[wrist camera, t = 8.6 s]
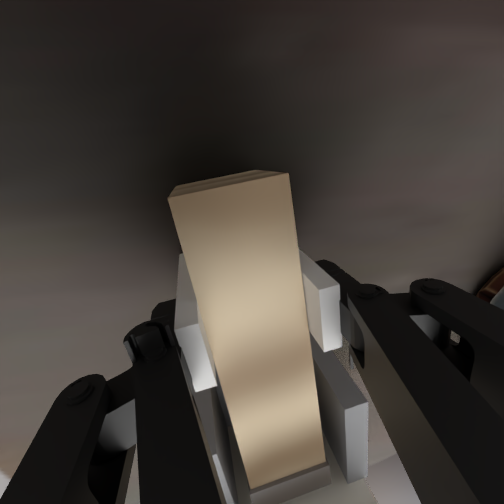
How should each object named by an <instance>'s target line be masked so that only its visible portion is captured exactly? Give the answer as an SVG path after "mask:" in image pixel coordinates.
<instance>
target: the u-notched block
mask: <svg viewBox="0 0 504 504" xmlns="http://www.w3.org/2000/svg"><path fill="white" fill-rule="evenodd" d="M309 335H310V343H311V350H312V358H313V366H314V374H315V381H316V389H317V397H318V405H319V412H320V420H321V428H322V436H323V443H324V451H325V456H326V459H327V461H328V463H329V465H330V473H331V481H332V484H330V485H327V486H325V487H322V488H320V489H317V490H314V491H312V492H309V493H307V494H304V495H301V496H299V497H296V498H294V499H291V500H288V501H286V502H283V503H281V504H378V502H377V501H376V499H375V497H374V495H373V493H372V491H371V489H370V487H369V486H368V484H367V482H366V480H365V477H367V476H368V401H367V399H366V398H365V397H364V395H363V394H362V392H361V391H360V389H359V388H358V387H357V385H356V384H355V382H354V381H353V380H352V378H351V377H350V375H349V374H348V373H347V371H346V370H345V368H344V367H343V365H342V364H341V363H340V361H339V360H338V358H337V357H336V356H335V354H334V353H333V351H332V350H330V351H327V352H323V350H322V349H321V347H320V346H319V344H318V343H317V341H316V340H315V338H314V337H313V335H312V334H311V332H310V331H309ZM214 366H215V362H214ZM215 374H216V382H217V386H215V387H211V388H208V389H205V390H202V391H199V392H195V389H194V386H193V383H192V386H193V396H194V399H195V402H196V405H197V408H198V411H199V414H200V418H201V421H202V424H203V428H204V431H205V434H206V437H207V441H208V444H209V447H210V450H211V454H212V457H213V460H214V464H215V467H216V470H217V473H218V477H219V480H220V483H221V486H222V490H223V493H224V496H225V500H226V503H227V504H252V501H251V498H250V494H249V488H248V482H247V477H246V471H245V467H244V464H243V460H242V457H241V453H240V450H239V446H238V443H237V439H236V436H235V432H234V429H233V425H232V422H231V418H230V415H229V411H228V408H227V404H226V401H225V397H224V394H223V390H222V387H221V383H220V380H219V376H218V373H217V369H216V366H215Z"/></svg>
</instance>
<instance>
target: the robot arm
mask: <svg viewBox="0 0 504 504" xmlns="http://www.w3.org/2000/svg"><path fill="white" fill-rule="evenodd" d="M298 250H299V257H300V265H301V273H302V281H303V288H304V296H305V304H306V312H307V319H308V327H309V331H310V332H311V334H312V335H313V337H314V338H315V340H316V341H317V343H318V344H319V346H320V347H321V349H322V350H323V352H327V351H330V350H333V349H336V348H340V347H342V335H343V336H344V337H345V338H346V340H347V341H348V342H349V361H350V369H354V366H353V363H355V365H356V367H357V369H358V371H359V374H360V376H361V378H362V380H363V382H364V384H365V386H366V388H367V390H368V392H369V395H370V397H371V399H372V401H373V403H374V405H375V407H376V409H377V411H378V413H379V416H380V418H381V420H382V422H383V424H384V426H385V428H386V430H387V432H388V435H389V437H390V439H391V441H392V443H393V445H394V447H395V449H396V451H397V453H398V455H399V458H400V460H401V462H402V464H403V466H404V468H405V470H406V472H407V474H408V476H409V479H410V481H411V483H412V485H413V487H414V489H415V491H416V493H417V495H418V497H419V500H420V502H421V504H504V310H503V309H501V308H499V307H497V306H495V305H493V304H490V303H488V302H486V301H484V300H482V299H480V298H478V297H476V296H474V295H472V294H470V293H468V292H466V291H464V290H462V289H460V288H458V287H456V286H454V285H452V284H450V283H447V282H444V281H442V280H436V279H432V278H429V279H428V278H425V279H419V280H416V281H414V282H412V283H411V285H410V292H409V293H397V294H389V293H388V292H387V291H386V290H385V289H383V288H382V287H380V286H377V285H373V284H360V283H359V282H358V281H356V280H355V279H354V278H353V277H351V276H350V275H349V274H347V273H345V271H343V270H342V269H340V267H338V266H337V265H336V264H334V263H333V262H330V261H327V260H320V261H316V262H314V261H313V260H312V259H310V258H309V257H308V256H307V255H306V254H305V253H304V252H303V251H301V250H300V249H299V248H298ZM451 330H452V331H453V332H455V333H457V334H458V335H460V336H461V337H460V342H459V343H456V342H454V341H453V340H451V339H450V336H451ZM123 343H124V345H125V348H126V350H127V352H128V354H129V356H130V359H131V361H132V363H133V366H132V367H131V368H130V369H129V370H127V371H125V372H124V373H122V374H120V375H118V376H116V377H114V378H112V379H110V380H108V381H106V380H105V378H104V377H103V375H99V374H92V375H87V376H85V377H82V378H79V379H78V380H76V381H74V382H73V383H71V384H70V385H69V386H67V387H66V388H65V389H64V390H63V391H62V392H61V393H60V394H59V396H58V397H57V398H56V400H55V401H54V403H53V405H52V407H51V409H50V410H49V412H48V414H47V416H46V418H45V419H44V421H43V423H42V425H41V427H40V428H39V430H38V432H37V434H36V436H35V437H34V439H33V441H32V443H31V445H30V446H29V448H28V450H27V452H26V454H25V455H24V457H23V459H22V461H21V463H20V464H19V466H18V468H17V470H16V472H15V473H14V475H13V477H12V479H11V481H10V482H9V485H8V486H7V488H6V490H5V492H4V493H3V495H2V497H1V499H0V504H124V503H125V498H126V493H127V488H128V483H129V478H130V473H131V468H132V463H133V458H134V453H135V448H136V443H137V452H138V471H139V489H140V504H227V503H226V500H225V496H224V493H223V490H222V486H221V483H220V480H219V477H218V473H217V470H216V467H215V464H214V460H213V457H212V454H211V450H210V447H209V444H208V441H207V437H206V434H205V431H204V428H203V424H202V421H201V418H200V414H199V411H198V408H197V405H196V402H195V399H194V396H193V386H194V389H195V392H199V391H202V390H205V389H208V388H211V387H215V386H217V382H216V374H215V366H214V359H213V355H212V352H211V348H210V345H209V341H208V338H207V334H206V331H205V327H204V324H203V320H202V317H201V313H200V310H199V306H198V303H197V300H196V296H195V293H194V289H193V286H192V282H191V279H190V275H189V272H188V268H187V265H186V261H185V258H184V254H183V253H182V254H179V266H178V280H177V295H176V299H173V300H169V301H165V302H161V303H158V305H157V306H156V307H155V308H154V310H153V311H152V315H151V320H150V321H147V322H144V323H142V324H140V325H138V326H136V327H135V328H133V329H132V330H131V331H129V333H128V334H127V335H126V336H125V338H124V342H123ZM192 383H193V386H192Z"/></svg>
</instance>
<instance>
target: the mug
mask: <svg viewBox="0 0 504 504" xmlns="http://www.w3.org/2000/svg"><path fill="white" fill-rule="evenodd" d="M476 297H478V298H480V299H482V300H484V301H486V302H488V303H490V304H493V305H495V306H497V307H499V308H501V309H503V310H504V267H503V268H502V269H501V270H499V271H498V272H497V273H496V274H495V275H493V276H492V277H491V278H490V279H489V280H488V281H487V282H486V284H485V285H484V286H483V287H482V288H481V289H480V291H479V292H478V293H477V295H476Z"/></svg>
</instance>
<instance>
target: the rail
mask: <svg viewBox="0 0 504 504" xmlns="http://www.w3.org/2000/svg"><path fill="white" fill-rule="evenodd" d="M168 202H169V205H170V209H171V212H172V216H173V219H174V223H175V226H176V230H177V233H178V237H179V240H180V244H181V247H182V251H183V254H184V258H185V261H186V265H187V268H188V272H189V275H190V279H191V282H192V286H193V289H194V293H195V296H196V300H197V303H198V306H199V310H200V313H201V317H202V320H203V324H204V327H205V331H206V334H207V338H208V341H209V345H210V348H211V352H212V355H213V359H214V362H215V366H216V369H217V373H218V376H219V380H220V383H221V387H222V390H223V394H224V397H225V401H226V404H227V408H228V411H229V415H230V418H231V422H232V425H233V429H234V432H235V436H236V439H237V443H238V446H239V450H240V453H241V457H242V460H243V464H244V467H245V471H246V477H247V482H248V488H249V494H250V498H251V501H252V504H281V503H283V502H286V501H288V500H291V499H294V498H296V497H299V496H301V495H304V494H307V493H309V492H312V491H314V490H317V489H320V488H322V487H325V486H327V485H330V484H332V481H331V473H330V465H329V463H328V461H327V459H326V456H325V451H324V443H323V436H322V428H321V420H320V412H319V405H318V397H317V389H316V381H315V374H314V366H313V358H312V350H311V343H310V335H309V327H308V319H307V312H306V304H305V296H304V288H303V281H302V273H301V265H300V257H299V250H298V242H297V234H296V226H295V219H294V211H293V203H292V195H291V187H290V180H289V173H284V172H273V171H263V170H252V171H247V172H242V173H237V174H232V175H227V176H222V177H217V178H213V179H208V180H203V181H198V182H193V183H188V184H183V185H178V186H176V187H175V188H174V189H173V191H172V192H171V194H170V195H169V197H168Z"/></svg>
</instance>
